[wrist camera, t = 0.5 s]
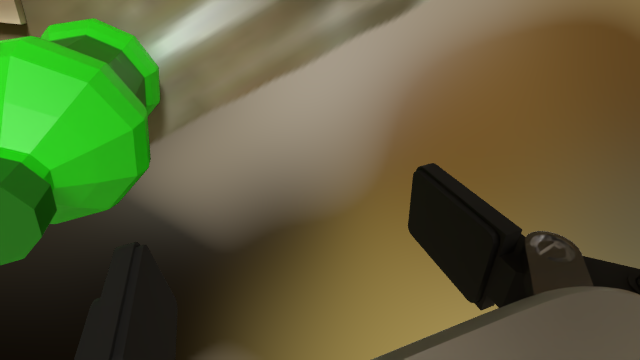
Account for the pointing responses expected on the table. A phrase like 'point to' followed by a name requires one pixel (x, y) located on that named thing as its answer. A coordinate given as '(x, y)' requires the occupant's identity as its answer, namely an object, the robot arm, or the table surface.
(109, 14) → the table surface
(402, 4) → the table surface
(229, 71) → the table surface
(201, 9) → the table surface
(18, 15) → the board
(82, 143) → the plastic bottle
